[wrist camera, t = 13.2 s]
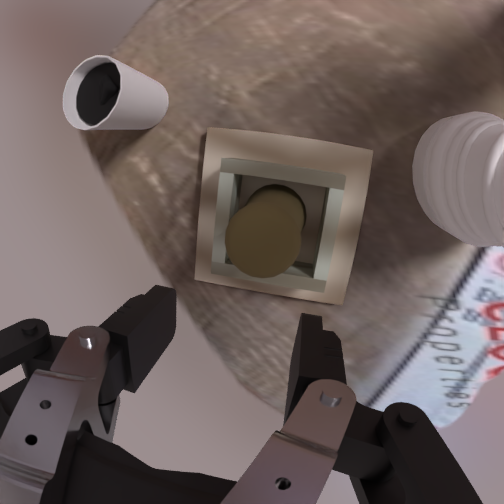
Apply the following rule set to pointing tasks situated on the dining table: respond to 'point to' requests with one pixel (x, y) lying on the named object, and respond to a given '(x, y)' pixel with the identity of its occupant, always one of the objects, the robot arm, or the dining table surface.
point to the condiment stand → (312, 194)
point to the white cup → (112, 97)
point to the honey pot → (463, 177)
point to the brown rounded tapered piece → (266, 232)
